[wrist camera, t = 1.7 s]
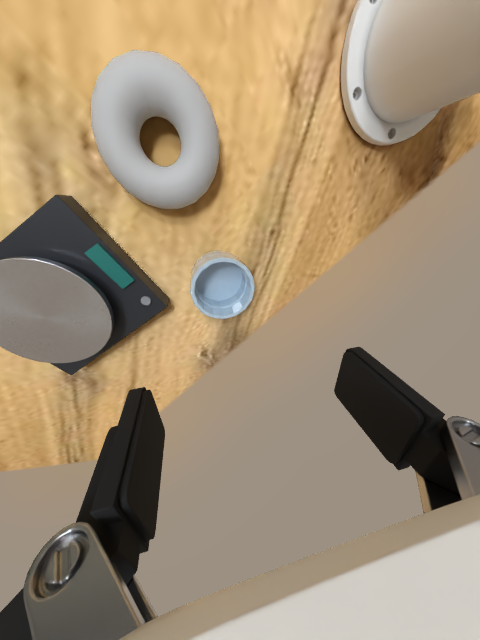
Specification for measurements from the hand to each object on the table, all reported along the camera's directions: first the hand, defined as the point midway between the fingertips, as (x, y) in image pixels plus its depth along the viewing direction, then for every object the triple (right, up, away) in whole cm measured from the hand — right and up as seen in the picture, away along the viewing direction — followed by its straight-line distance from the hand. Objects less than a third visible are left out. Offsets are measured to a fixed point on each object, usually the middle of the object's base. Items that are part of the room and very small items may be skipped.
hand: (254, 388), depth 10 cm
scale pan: (-19, +4, +10) cm, 22 cm away
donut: (-8, +19, +9) cm, 23 cm away
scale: (-19, +6, +13) cm, 24 cm away
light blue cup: (-3, +9, +16) cm, 18 cm away
